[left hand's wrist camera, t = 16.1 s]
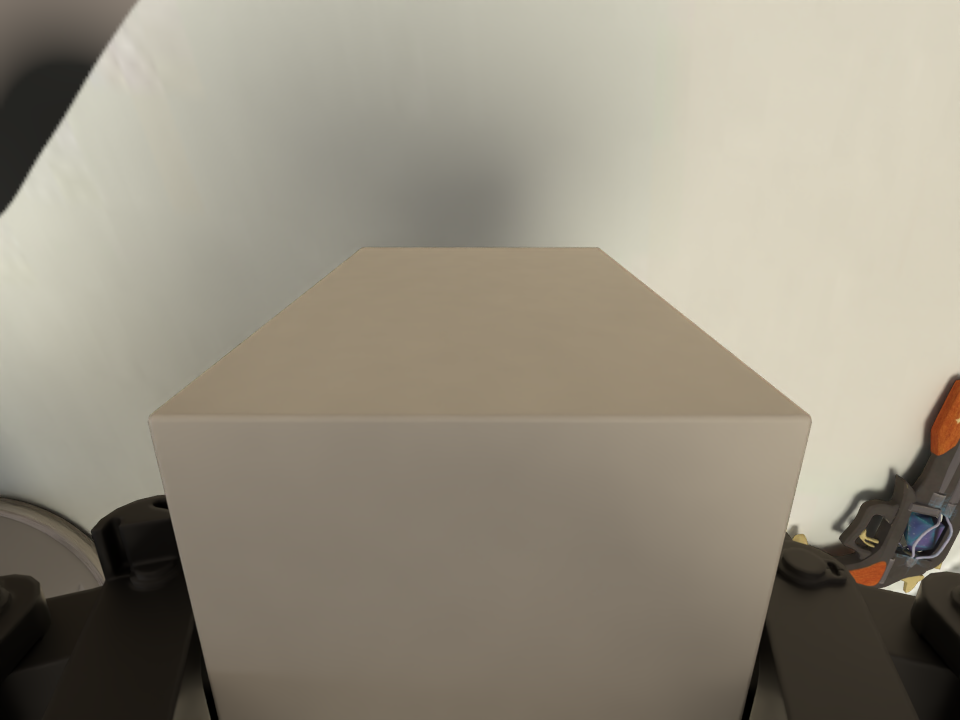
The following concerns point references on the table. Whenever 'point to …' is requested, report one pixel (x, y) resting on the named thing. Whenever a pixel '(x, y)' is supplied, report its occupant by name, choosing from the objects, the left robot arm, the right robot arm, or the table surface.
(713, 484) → the box
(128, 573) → the left robot arm
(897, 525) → the toy gun
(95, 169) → the table surface
